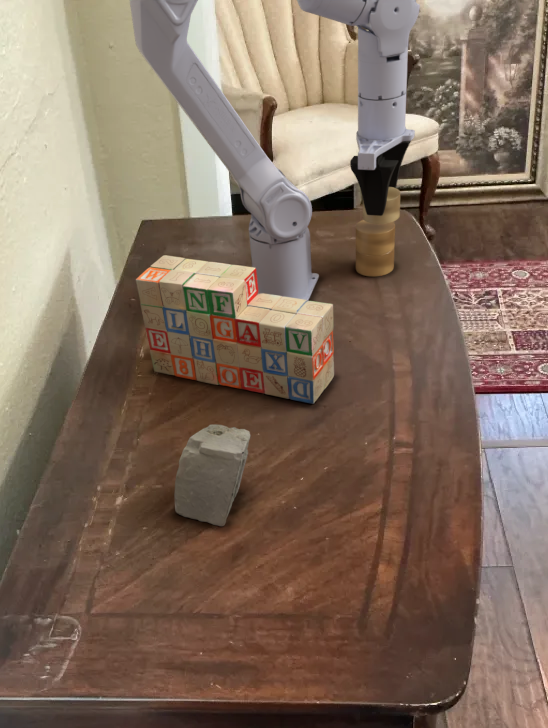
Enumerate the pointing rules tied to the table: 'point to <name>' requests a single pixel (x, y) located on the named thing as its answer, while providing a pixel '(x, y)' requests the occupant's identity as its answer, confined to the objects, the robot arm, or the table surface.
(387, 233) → the pile chip top
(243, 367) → the stack of blocks
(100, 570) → the table surface
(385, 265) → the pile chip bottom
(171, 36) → the robot arm
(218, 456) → the mineral specimen
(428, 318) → the table surface
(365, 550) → the table surface
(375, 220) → the tan wooden cylinder
